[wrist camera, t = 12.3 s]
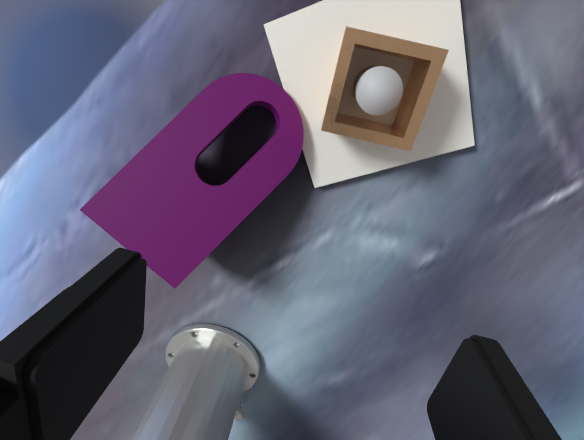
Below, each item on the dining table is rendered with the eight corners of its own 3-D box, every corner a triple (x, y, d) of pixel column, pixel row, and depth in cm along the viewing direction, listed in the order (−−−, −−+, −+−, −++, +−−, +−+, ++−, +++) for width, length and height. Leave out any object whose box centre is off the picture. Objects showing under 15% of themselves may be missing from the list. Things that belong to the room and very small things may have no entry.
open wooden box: (428, 51, 25) (448, 49, 20) (398, 136, 28) (410, 151, 23) (344, 32, 25) (346, 26, 21) (323, 119, 28) (320, 130, 24)
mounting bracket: (241, 77, 34) (114, 200, 33) (247, 47, 26) (79, 209, 25) (302, 145, 36) (185, 262, 35) (326, 137, 28) (174, 288, 27)
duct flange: (470, 142, 28) (495, 158, 24) (315, 184, 32) (312, 204, 27) (450, -49, 23) (477, -75, 19) (266, 25, 26) (252, 18, 22)
